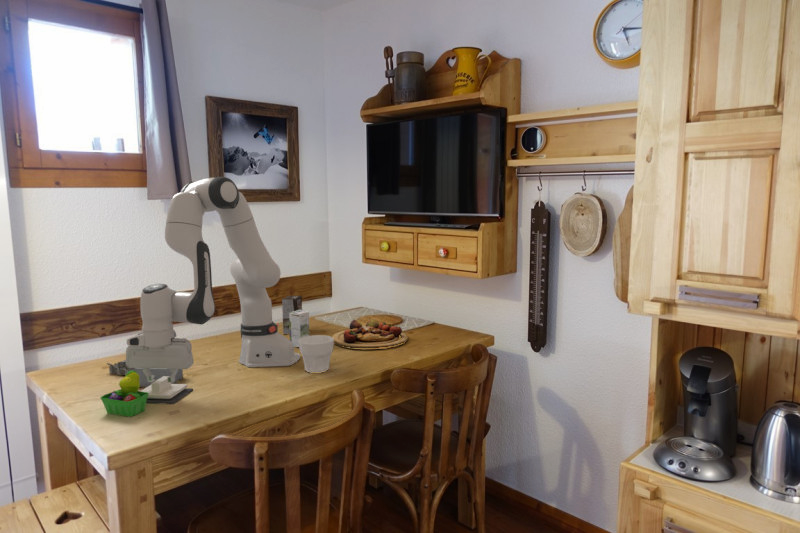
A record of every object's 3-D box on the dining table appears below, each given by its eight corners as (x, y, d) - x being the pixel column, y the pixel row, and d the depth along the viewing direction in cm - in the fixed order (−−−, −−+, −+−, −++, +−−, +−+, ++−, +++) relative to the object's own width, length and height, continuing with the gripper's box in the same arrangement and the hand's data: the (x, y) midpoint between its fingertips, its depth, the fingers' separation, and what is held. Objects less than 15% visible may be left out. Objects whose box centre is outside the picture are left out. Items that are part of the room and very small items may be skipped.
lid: (187, 389, 181) (186, 375, 180) (171, 400, 170) (170, 386, 170) (153, 388, 182) (152, 374, 181) (135, 399, 172) (134, 384, 171)
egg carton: (105, 374, 200) (104, 363, 199) (123, 368, 207) (122, 357, 206) (129, 377, 196) (128, 365, 195) (145, 371, 203) (145, 359, 202)
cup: (303, 377, 193) (302, 345, 192) (295, 367, 204) (294, 337, 203) (339, 372, 198) (338, 341, 197) (329, 363, 209) (328, 333, 208)
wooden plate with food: (358, 356, 219) (359, 335, 218) (317, 339, 244) (317, 320, 243) (423, 344, 238) (423, 324, 237) (379, 329, 263) (379, 311, 262)
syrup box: (299, 344, 236) (297, 309, 235) (310, 345, 233) (309, 310, 232) (289, 347, 231) (288, 312, 230) (301, 349, 228) (299, 313, 227)
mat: (192, 390, 181) (192, 388, 181) (173, 404, 170) (173, 402, 170) (151, 388, 183) (151, 387, 183) (129, 402, 171) (129, 400, 171)
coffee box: (296, 335, 251) (295, 299, 249) (282, 334, 252) (281, 298, 250) (303, 330, 260) (302, 295, 258) (289, 329, 261) (288, 295, 259)
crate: (183, 377, 194) (182, 360, 194) (167, 387, 185) (166, 369, 184) (152, 376, 196) (151, 359, 195) (135, 386, 186) (134, 368, 185)
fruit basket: (99, 414, 162) (96, 375, 161) (124, 403, 171) (122, 367, 169) (130, 419, 158) (127, 380, 157) (154, 408, 166) (152, 370, 165)
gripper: (195, 336, 176) (198, 379, 178) (133, 334, 178) (136, 377, 180) (185, 341, 170) (188, 386, 171) (121, 339, 172) (124, 384, 174)
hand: (161, 381), depth 176 cm, fingers open, 5 cm apart
